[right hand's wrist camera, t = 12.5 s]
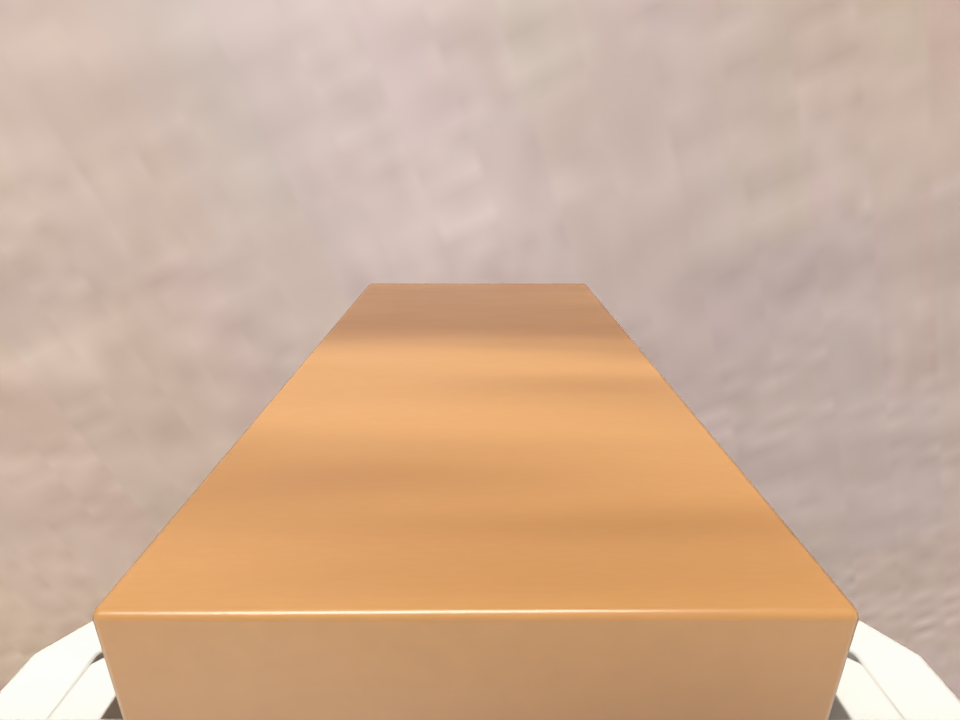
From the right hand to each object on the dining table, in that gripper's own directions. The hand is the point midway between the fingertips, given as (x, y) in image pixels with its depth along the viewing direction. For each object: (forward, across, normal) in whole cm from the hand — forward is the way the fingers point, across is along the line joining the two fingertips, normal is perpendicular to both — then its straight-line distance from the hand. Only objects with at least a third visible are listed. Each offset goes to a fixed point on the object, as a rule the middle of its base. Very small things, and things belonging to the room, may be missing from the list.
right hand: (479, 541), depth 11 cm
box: (+7, 0, -10) cm, 12 cm away
